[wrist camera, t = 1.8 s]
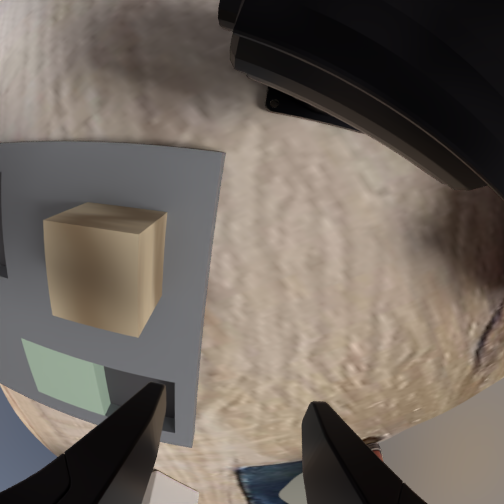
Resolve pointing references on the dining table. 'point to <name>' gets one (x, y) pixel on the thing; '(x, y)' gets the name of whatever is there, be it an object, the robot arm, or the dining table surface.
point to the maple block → (105, 265)
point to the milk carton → (168, 491)
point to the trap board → (87, 337)
